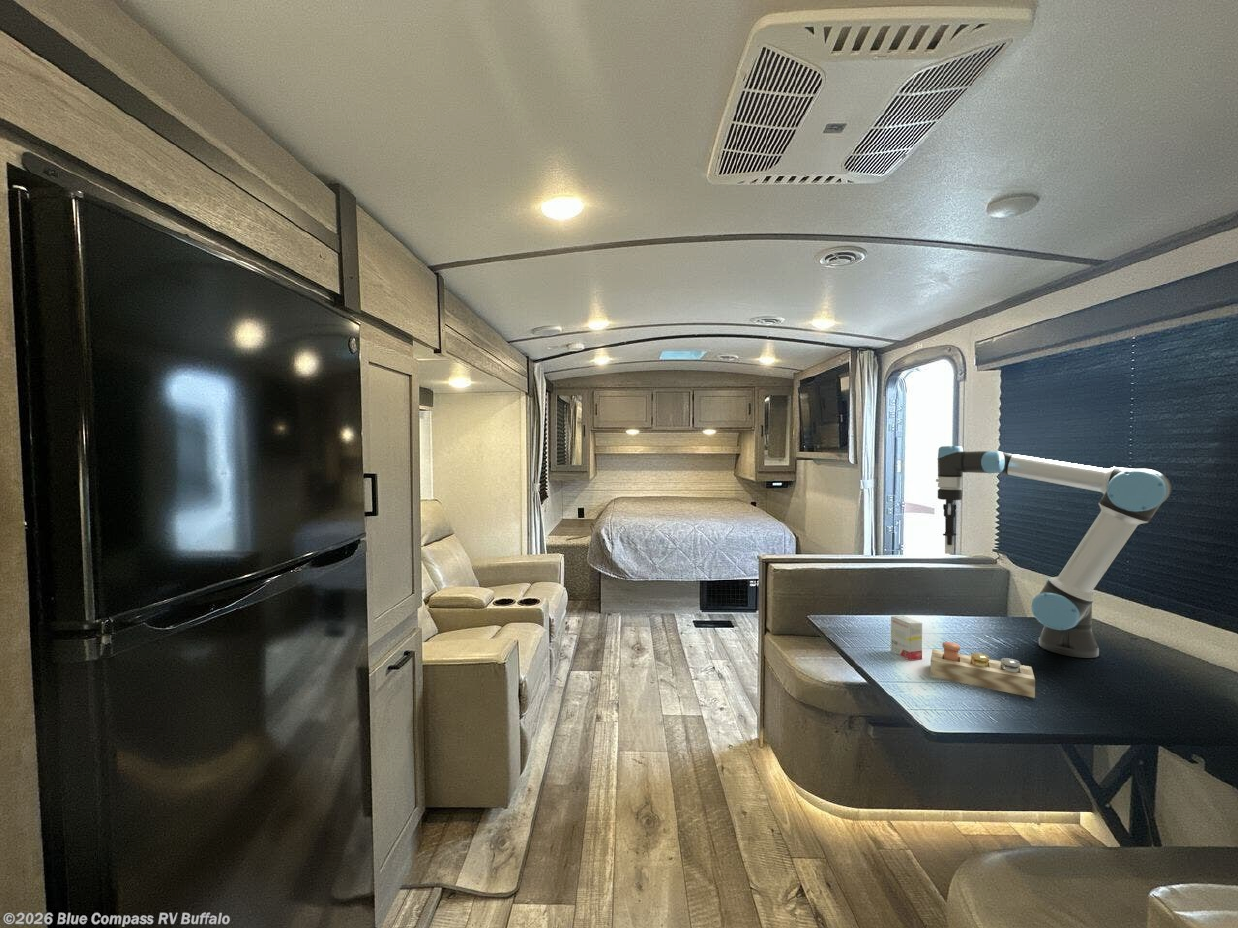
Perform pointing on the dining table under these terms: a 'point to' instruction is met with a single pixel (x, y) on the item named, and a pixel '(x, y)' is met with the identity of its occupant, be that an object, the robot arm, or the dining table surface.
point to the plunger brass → (980, 659)
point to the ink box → (906, 637)
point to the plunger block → (983, 674)
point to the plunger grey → (1010, 665)
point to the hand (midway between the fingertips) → (949, 553)
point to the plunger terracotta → (951, 651)
